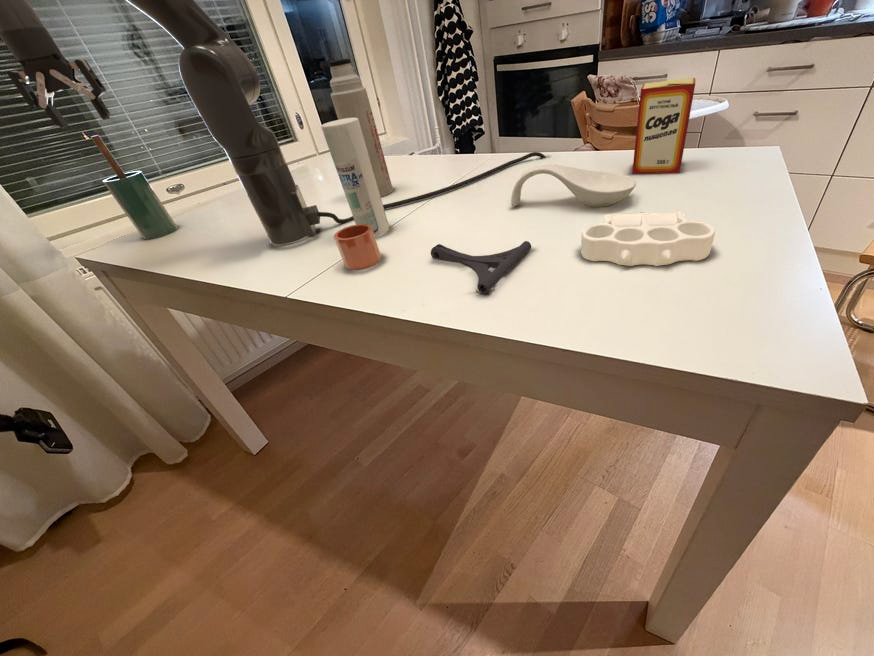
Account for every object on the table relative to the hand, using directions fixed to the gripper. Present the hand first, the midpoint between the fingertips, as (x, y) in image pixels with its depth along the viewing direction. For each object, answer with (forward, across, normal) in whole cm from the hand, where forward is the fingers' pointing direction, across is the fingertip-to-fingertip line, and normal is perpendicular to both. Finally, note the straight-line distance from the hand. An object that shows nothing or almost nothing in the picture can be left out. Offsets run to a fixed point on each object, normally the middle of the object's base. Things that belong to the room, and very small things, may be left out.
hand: (86, 123), depth 87 cm
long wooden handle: (+24, 0, 0) cm, 24 cm away
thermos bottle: (+26, -57, +10) cm, 63 cm away
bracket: (+26, -68, +63) cm, 96 cm away
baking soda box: (+26, -117, +41) cm, 127 cm away
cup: (+25, 0, 0) cm, 25 cm away
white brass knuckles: (+26, -93, +72) cm, 120 cm away
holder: (+25, -51, +52) cm, 77 cm away
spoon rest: (+26, -93, +48) cm, 108 cm away
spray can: (+26, -54, +38) cm, 71 cm away
